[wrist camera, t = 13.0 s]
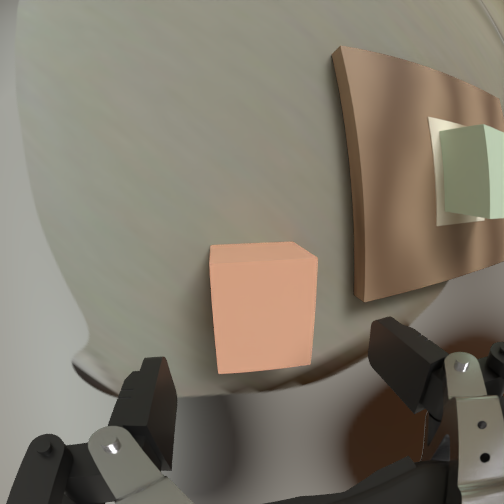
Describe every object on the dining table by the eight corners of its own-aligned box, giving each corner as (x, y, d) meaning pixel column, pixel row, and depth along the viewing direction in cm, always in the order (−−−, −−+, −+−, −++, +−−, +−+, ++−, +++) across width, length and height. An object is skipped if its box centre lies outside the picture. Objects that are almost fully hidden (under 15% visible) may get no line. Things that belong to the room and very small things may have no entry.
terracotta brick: (292, 241, 17) (317, 257, 13) (290, 328, 18) (310, 364, 14) (210, 244, 17) (209, 263, 12) (216, 333, 18) (218, 374, 13)
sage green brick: (474, 140, 16) (513, 137, 11) (478, 210, 17) (518, 217, 13) (439, 131, 15) (483, 123, 11) (444, 211, 16) (489, 219, 12)
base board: (489, 100, 17) (499, 98, 15) (499, 256, 21) (509, 259, 19) (331, 54, 15) (340, 45, 13) (353, 294, 18) (364, 302, 17)
